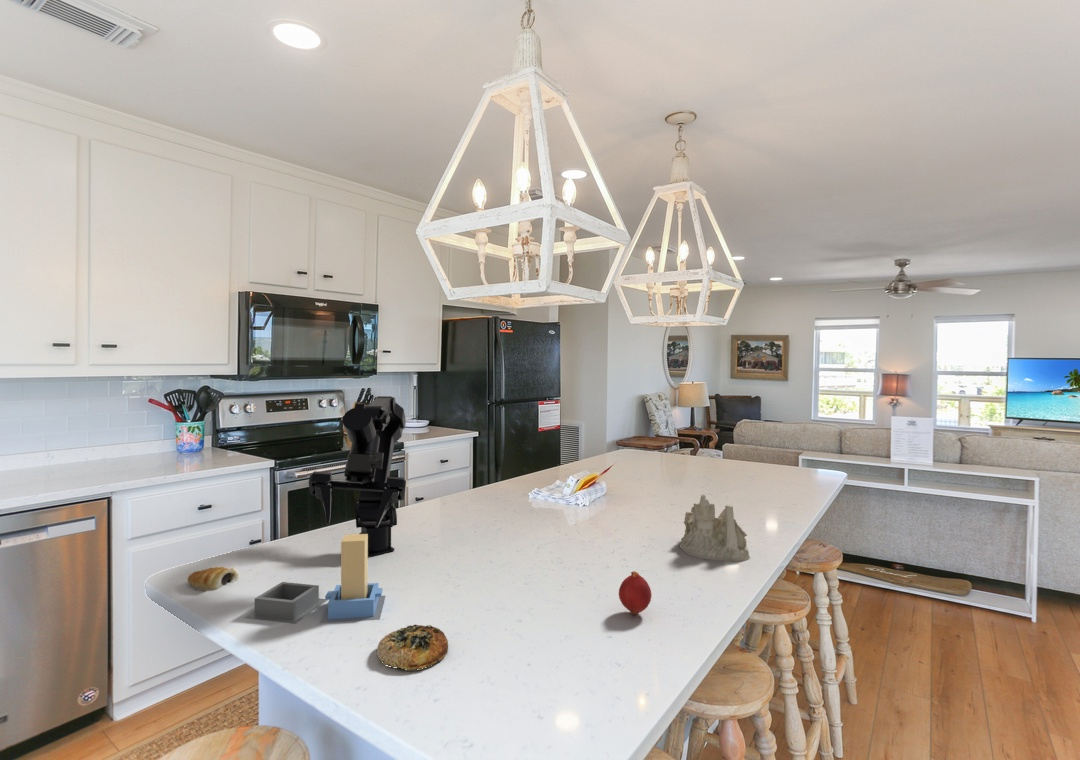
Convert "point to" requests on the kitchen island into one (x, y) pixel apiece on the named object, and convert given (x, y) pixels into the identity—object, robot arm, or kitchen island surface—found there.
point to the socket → (287, 603)
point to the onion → (635, 593)
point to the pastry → (212, 578)
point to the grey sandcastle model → (713, 534)
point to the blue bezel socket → (354, 606)
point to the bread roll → (413, 647)
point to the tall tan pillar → (354, 566)
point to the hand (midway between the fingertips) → (352, 525)
